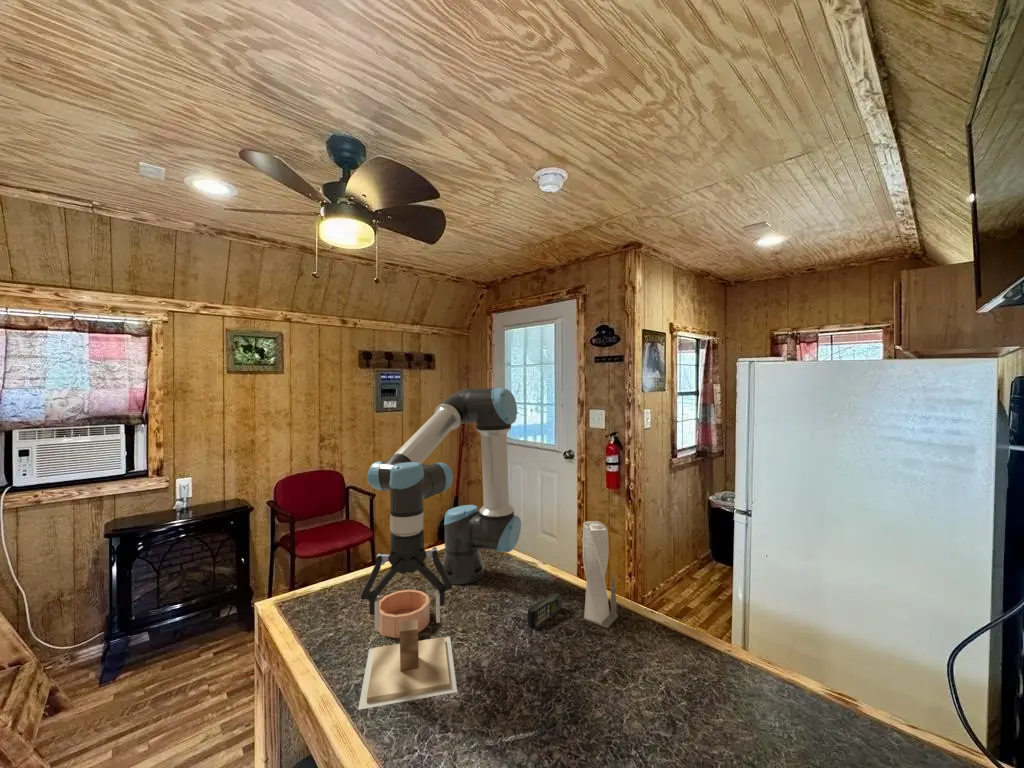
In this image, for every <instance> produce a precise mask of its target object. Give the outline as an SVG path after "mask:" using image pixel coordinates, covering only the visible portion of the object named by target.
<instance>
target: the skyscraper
mask: <svg viewBox="0 0 1024 768" xmlns="http://www.w3.org/2000/svg"><path fill="white" fill-rule="evenodd" d="M582 524H583V526H582V561H583V569H584V575H585V579H586V585H585V587H586V588H585V601H584V617H583V621H584V620H585V621H587V622H590V623H593V624H595V625H598V626H600V627H604V628H606V629H609V628H610V626H611V625H612V624H613V623H614V622H615V620H616V619H618V617H619V614H618V612H617V606H618V602H617V594H616V593H617V591H616V590H617V587H616V586H615V585H616V584H615V576H614V575H615V574H614V573H615V572H614V571H612V572H611V573H612V576H611V586H610V587H609V588H610V604H609V597H608V591H607V586H606V580H605V579H606V578H605V577H606V573H607V569H608V563H609V553H610V550H609V549H610V546H609V542H610V541H609V529H608V528H607V526H606V525H605V524H604V523H602V522H601V521H599V520H588V521H584V522H582ZM609 605H610V607H609Z"/></svg>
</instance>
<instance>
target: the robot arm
mask: <svg viewBox="0 0 1024 768" xmlns="http://www.w3.org/2000/svg"><path fill="white" fill-rule="evenodd" d="M517 415H518V406H517V401H516V398H515V396H514V394H513V393H512V391H511V390H509V389H508V388H503V387H486V388H485V387H484V388H472V387H470V388H464V389H462V390H459V391H456V392H455V393H453V394H451V395H450V396H448V397H447V398H445V399H444V400H443V401H442V402H441V403H439V404H438V405H437V406H436V407H435V410H434V413H433V415H432V416H430V417H429V418H428V419H427V420H426V421H425V423H423V425H422V426H420V427H419V428H418V429H417V431H415V433H413V434H412V436H411V437H409V439H408V440H406V442H405V443H404V444H402V445H401V447H399V449H398V450H396V452H394V453H393V454H392V455H391V457H389V458H388V459H387V460H386V461H385V460H381V461H376V462H373V463H372V464H371V465H370V467H369V468H368V472H367V481H368V485H369V486H370V487H371V488H372V489H373V490H378V491H382V492H389V493H390V494H389V495H390V497H389V498H390V500H389V501H390V511H389V512H390V514H389V529H390V531H389V532H391V534H390V538H389V539H390V540H389V541H390V552H389V554H383V553H382V552H378V553H377V555H376V557H375V558H376V559H375V564H374V567H373V569H372V570H371V572H370V575H369V576H368V579H367V581H366V583H365V584H364V587H363V589H362V591H361V593H360V599H361V600H366V601H367V600H368V602H369V615H370V616H374V632H378V630H379V601H380V594H381V593H382V591H383V590H384V589H385V588H386V586H387V585H388V584H389V583H390V581H391V580H392V579H393V578H394V577H395V576H396V575H397V573H400V575H403V574H407V573H410V574H414V573H415V572H416V571H418V572H419V573H420V574H421V575H422V576H424V577H425V578H426V580H427V581H428V582H429V583H430V584H431V585H432V586H433V587H434V588H435V620H436V624H438V623H439V624H440V623H441V622H440V621H441V612H440V611H441V607H444V606H445V604H446V603H445V601H446V600H445V597H446V596H445V595H446V594H445V592H446V591H447V590H452V589H453V585H467V584H471V583H475V582H477V581H479V580H480V579H482V578H483V577H484V575H485V566H484V562H483V560H482V557H481V553H480V549H482V550H488V551H493V552H498V553H500V552H501V553H509V552H510V553H511V552H512V551H514V548H515V547H516V546H517V544H518V541H519V538H520V535H521V530H522V521H521V518H520V517H519V516H518V515H515V509H514V507H513V506H512V505H511V504H510V490H509V464H508V463H509V461H508V460H509V458H508V433H509V431H510V430H511V429H512V424H514V423H516V420H517V418H518V417H517ZM469 423H471V424H475V430H476V431H477V432H478V433H479V434H480V441H481V442H480V443H481V444H480V445H481V449H480V450H481V470H482V471H481V472H482V475H481V476H482V495H483V498H482V499H483V502H482V504H483V505H482V506H481V508H478V506H477V505H476V504H464V505H459V506H456V507H453V508H450V509H448V510H447V511H446V512H445V514H444V522H443V526H444V556H443V559H442V561H441V559H440V557H439V553H438V548H437V547H436V546H435V547H432V549H430V550H425V531H424V530H423V529H424V528H425V520H424V519H425V513H424V511H425V510H424V505H425V503H424V501H425V500H426V499H428V498H431V497H433V496H436V495H437V494H438V495H439V494H442V493H443V492H445V491H447V490H448V489H450V488H451V486H452V484H453V482H454V474H453V471H452V469H451V467H450V466H449V465H448V464H447V463H444V462H433V463H432V464H423V463H424V462H425V461H426V459H427V458H429V456H430V455H431V453H433V451H434V450H435V449H436V448H437V447H438V446H439V444H441V443H442V441H443V440H444V439H445V438H446V437H447V436H448V434H450V432H451V431H453V430H456V429H458V428H459V427H460V426H461V425H462V424H463V425H464V424H469ZM427 557H428V558H429V560H430V561H433V564H434V566H435V568H436V570H437V571H438V573H439V575H440V576H439V577H440V579H441V580H442V581H443V582H442V581H441V580H440V579H439V578H438V577H437V576H436V575H435V573H434V572H432V570H431V569H429V567H428V566H427V565H426V563H425V562H424V561H425V560H426V558H427ZM386 562H389V564H390V565H391V566H390V567H389V569H388V570H387V572H386V573H385V574H384V575H383V577H382V578H381V579H380V581H378V583H377V584H376V585H375V587H374V588H373V589H372V586H373V585H374V583H375V581H376V578H377V576H378V574H379V571H380V570H381V567H382V566H384V565H385V564H386ZM371 589H372V590H371Z"/></svg>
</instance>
